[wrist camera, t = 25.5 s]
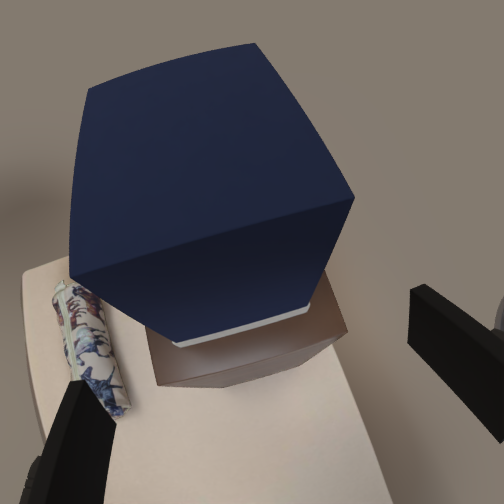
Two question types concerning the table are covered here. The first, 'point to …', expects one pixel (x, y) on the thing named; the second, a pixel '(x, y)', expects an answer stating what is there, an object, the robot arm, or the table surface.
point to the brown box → (250, 347)
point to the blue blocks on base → (203, 197)
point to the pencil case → (89, 345)
